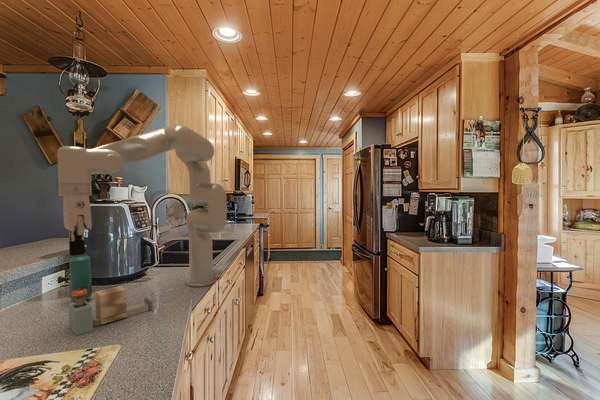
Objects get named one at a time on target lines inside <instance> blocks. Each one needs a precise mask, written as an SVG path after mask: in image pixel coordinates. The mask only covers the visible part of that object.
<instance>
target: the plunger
mask: <svg viewBox="0 0 600 400" xmlns="http://www.w3.org/2000/svg"><path fill="white" fill-rule="evenodd" d="M85 295H87V289H78V290H74V291H72V297H75V300H74V302H75V308H77V307H81V306H85V300H86V299H85Z"/></svg>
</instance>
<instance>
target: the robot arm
mask: <svg viewBox="0 0 600 400" xmlns="http://www.w3.org/2000/svg"><path fill="white" fill-rule="evenodd" d="M173 150H174V151H175V154H176V157H177V158H178V159H179V160H180V161H181V163H183V164H184V165H185V167H186V169H187V171H188V175H189V178H188V179H189V201H190V203H191V204H193V205H195V206H198V207H199V206H202V207H207V208H195V209H192V210H191V211H189V212H188V213H187V215H186V218H185V225H186V230H187V233H188V259H189V260H188V263H189V264H188V265H189V277H188V278H187V279H186V280H185V284H186V286H188V287H195V288H196V287H197V288H198V287H207V286H210V285H213V284H215V283H216V282H217V277H216V276H217V275H222V274H223V269H218V270H217V269H213V267H214V264H213V263H214V261H213V257H214V256H213V239H212V235H211V233H216V234H217V233H221V232H223V230H224V229H225V228H226V225H227V218H228V217H227V213H228V211H227V210H228V209H227V206H228V205H227V204H228V202H227V193H226V189H225V188H224V187H223V186H222V185H221V184H219V183H215V182H212V183H211V170H210V167H209V165H208V164H207V162H208V161H210V160H212V158H213V157H214V155H215V148H214V145H213V144H212V143H211V141H210V140H208V139H207V138H205V137H204V136H202V135H201V134H199V132H196V131H195V130H193V129H191V128H190V127H187V126H185V125H181V124H179V125H178V124H177V125H170V126H163V127H160V128H157V129H154V130H151V131H148V132H143V133H140V134H137V135H134V136H133V135H132V136H130V137H126V138H124V139H121V140H117V141H114V142H110V143H107V144H103V145H100V146H98V147H94V148H87V147H84V146H83V147H82V146H75V145H74V146H72V145H71V146H69V145H65V146H60V147H59V148H58V149H57V174H58V175H57V176H58V177H57V178H58V180H57V181H58V186H57V187H58V196H59V197H63V201H62V202H63V204H62V205H63V206H62V207H63V226H64V228H65V229H66V230H68V239H69V242H68V247H69V255H70V256H71V257H73V256H76V255H85V252H84V246H85V230H87V231H90V230H92V228H93V227H92V226H93V223H92V209H91V201H90V196H91V197H92V195H93V194H92V175H110V174H115V173H117V172H119V171H120V170H121V169H122V167H123V164H124V165H125V164H128V163H137V162H141V161H146V160H149V159H152V158H154V157H157V156H159V155H161V154H164V153H167V152H169V151H173Z"/></svg>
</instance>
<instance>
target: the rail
mask: <svg viewBox="0 0 600 400" xmlns="http://www.w3.org/2000/svg"><path fill="white" fill-rule="evenodd" d="M149 311H150V312H151V311H153V300H151V299H150V298H148V297H144V301H143V302H142V303H138V304H134V305H131V306H127V317H126V318H129V317H132V316H135V315H139V314H141V313H144V312H149ZM92 317H93V328H95V327H98V326H101V324H100V319H101V318H100V317H98V316H96V315H93V316H92Z"/></svg>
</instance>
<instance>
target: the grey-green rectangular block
mask: <svg viewBox="0 0 600 400" xmlns="http://www.w3.org/2000/svg"><path fill="white" fill-rule="evenodd" d="M93 317H94V316H93V306H92V305H91V304H90V303H89V302H88V301H87V299H85V306H81V307H77V308H75V301H74V302H69V303H68V324H69V325H68V326H69V328H70V330H71V331H72V332H73V334H74V335H75V337H76V336H77V337H78V336H80V335H83V334H87V333H89V332H92V331H94V325H93Z"/></svg>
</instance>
